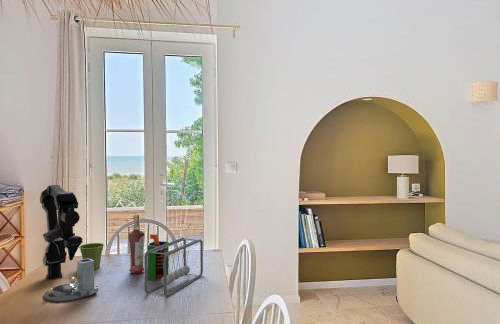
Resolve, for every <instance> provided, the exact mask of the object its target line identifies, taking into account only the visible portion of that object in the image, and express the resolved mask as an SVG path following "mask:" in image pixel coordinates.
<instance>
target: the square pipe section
mask: <svg viewBox="0 0 500 324" xmlns="http://www.w3.org/2000/svg"><path fill="white" fill-rule="evenodd" d="M76 271H77V272H76V274H77V275H76V276H77V279H76V280H77V281H76V283H77V288H74V295H75V296H76V295H79V296H81V297H82V296H85V295H89V296H92V295H94V294H95V293H98V292H99V287H98V285H97V284H95V269H94V260H92V259H89V258H87V259H78V260H76Z"/></svg>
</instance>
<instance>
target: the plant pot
mask: <svg viewBox="0 0 500 324" xmlns="http://www.w3.org/2000/svg"><path fill="white" fill-rule="evenodd" d="M104 246H105V243H102V242H89V243H85V244H81V245H80V246H79V248H78V249H80V253H81V256H82V259H81V260H83V259H87V258H89V259H92V260H94V270H96V269H98V268H100V266H101V260H102V255H103V254H102V252H103V249H104Z"/></svg>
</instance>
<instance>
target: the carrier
mask: <svg viewBox="0 0 500 324" xmlns="http://www.w3.org/2000/svg"><path fill="white" fill-rule="evenodd" d="M69 279H70V282H69V283H68V282H66V283H65V284H60V285H57V286H54V287H48V288H47V290H46V291H45V292H44V294H43V298H44V300H45V301H47V302H52V303H66V302H73V301H74V302H75V301H78V300H82V299H84V298H87V297H89V296H90V295H85V296H82V297H81V296H79V295H76V296H75V295H74V288H77V282H76V276H71V277H70V278H69Z"/></svg>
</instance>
